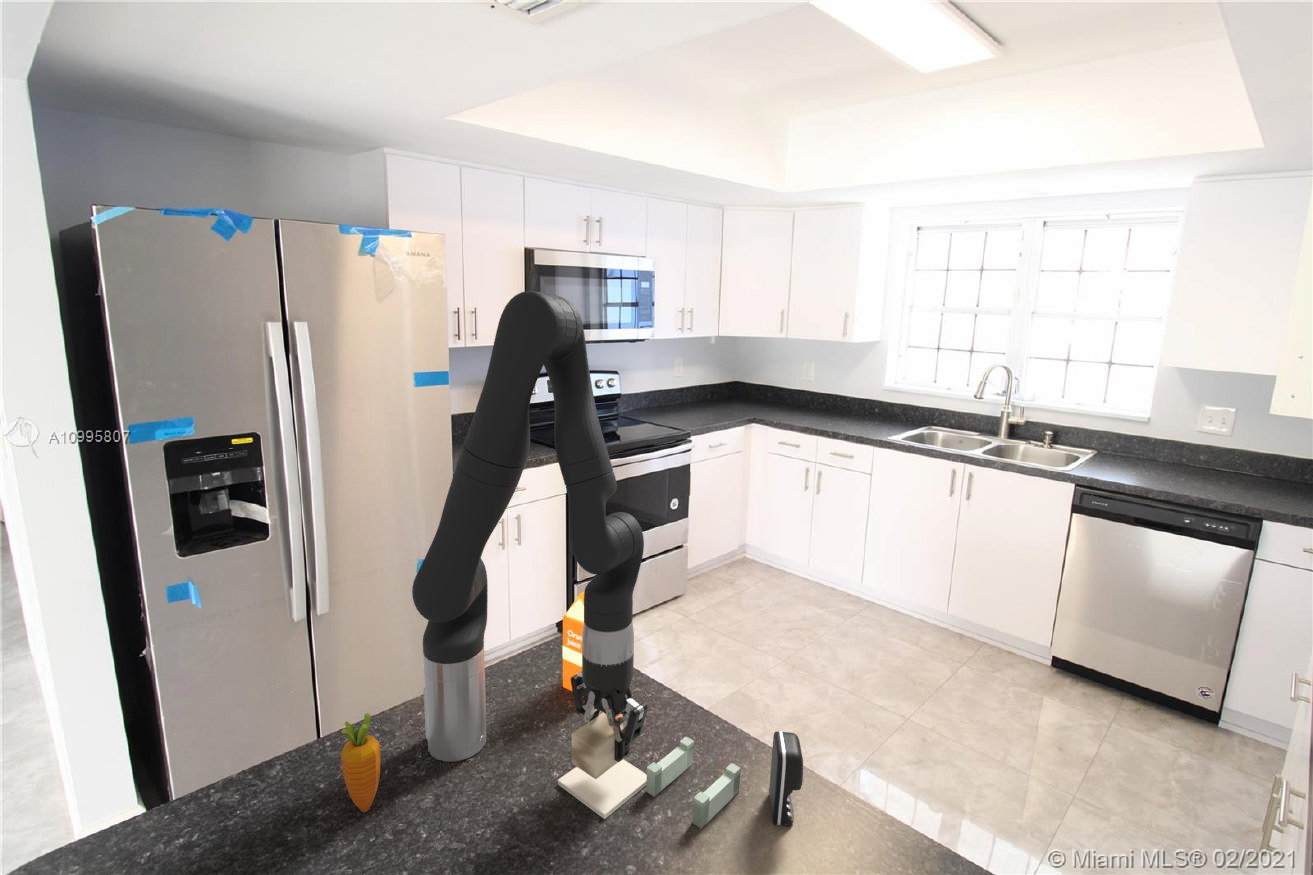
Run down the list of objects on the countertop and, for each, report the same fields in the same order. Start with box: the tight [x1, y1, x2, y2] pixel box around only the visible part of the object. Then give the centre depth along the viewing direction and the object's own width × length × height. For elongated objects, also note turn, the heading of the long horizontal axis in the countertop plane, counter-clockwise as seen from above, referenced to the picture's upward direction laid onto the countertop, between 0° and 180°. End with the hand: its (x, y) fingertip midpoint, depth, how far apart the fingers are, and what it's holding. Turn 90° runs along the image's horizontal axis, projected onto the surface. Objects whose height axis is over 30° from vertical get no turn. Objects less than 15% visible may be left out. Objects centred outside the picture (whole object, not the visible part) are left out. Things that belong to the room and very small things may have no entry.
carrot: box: [340, 713, 381, 813], centre depth 93 cm, size 5×5×15 cm
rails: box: [645, 736, 741, 829], centre depth 100 cm, size 10×10×4 cm
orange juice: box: [562, 591, 584, 692], centre depth 124 cm, size 8×9×20 cm
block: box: [571, 711, 623, 779], centre depth 99 cm, size 5×7×5 cm
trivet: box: [557, 758, 647, 820], centre depth 101 cm, size 10×10×1 cm
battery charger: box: [768, 730, 804, 826], centre depth 96 cm, size 7×4×11 cm, turn 175°
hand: (607, 749), depth 100 cm, fingers closed on block, 5 cm apart
